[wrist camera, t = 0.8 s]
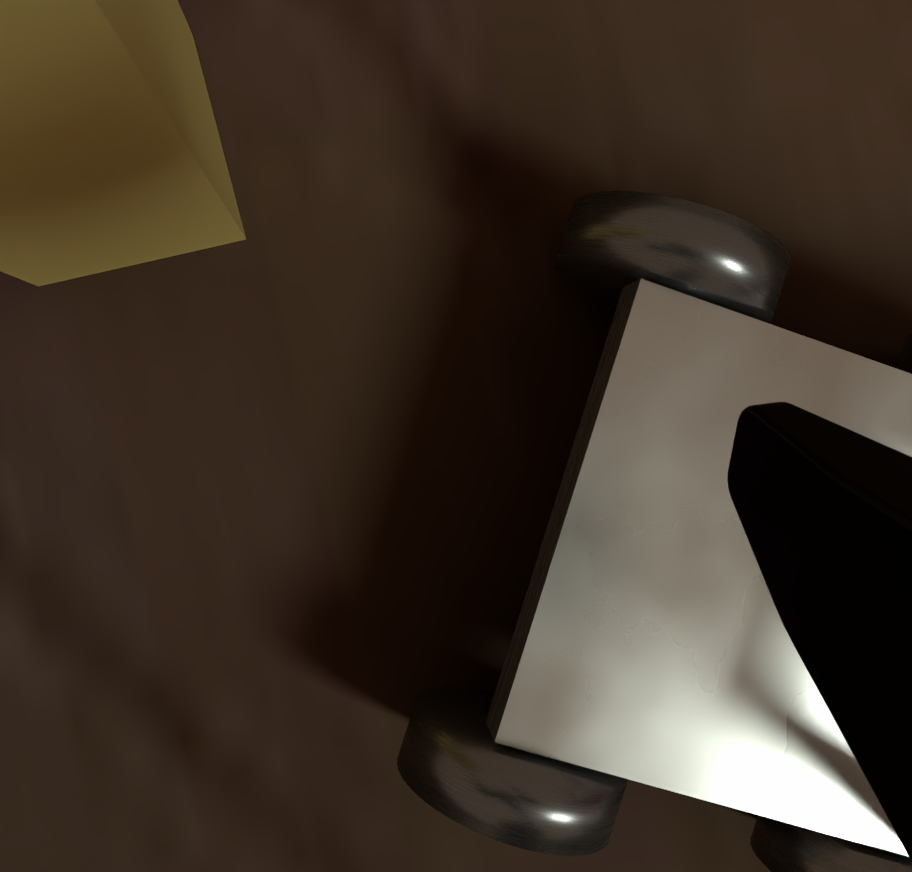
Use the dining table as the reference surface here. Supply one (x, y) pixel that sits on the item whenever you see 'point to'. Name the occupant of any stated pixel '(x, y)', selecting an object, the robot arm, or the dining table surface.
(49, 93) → the tall yellow block
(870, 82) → the dining table surface
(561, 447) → the dining table surface
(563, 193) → the dining table surface
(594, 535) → the trolley
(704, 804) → the dining table surface
